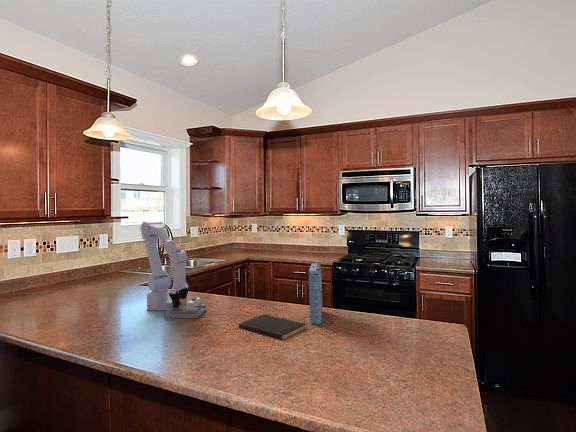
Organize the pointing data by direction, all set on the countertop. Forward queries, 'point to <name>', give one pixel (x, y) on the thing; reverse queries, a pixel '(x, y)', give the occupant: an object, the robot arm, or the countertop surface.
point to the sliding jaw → (194, 304)
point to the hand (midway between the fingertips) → (179, 305)
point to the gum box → (315, 293)
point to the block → (182, 305)
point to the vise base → (182, 314)
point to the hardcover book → (272, 326)
